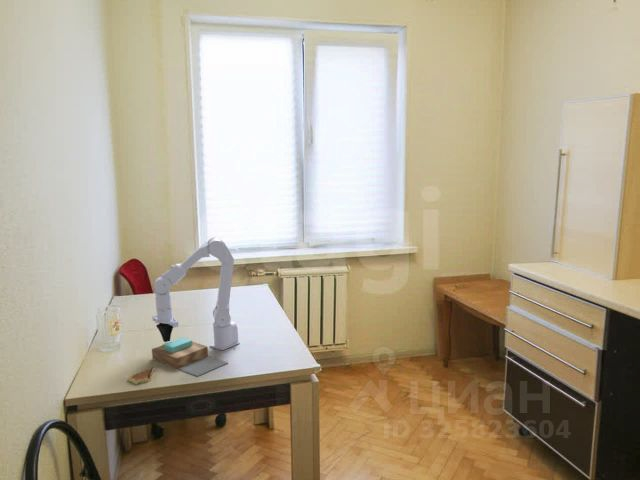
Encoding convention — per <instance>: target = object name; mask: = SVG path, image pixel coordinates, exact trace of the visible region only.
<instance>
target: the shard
mask: <svg viewBox="0 0 640 480" xmlns="http://www.w3.org/2000/svg"><path fill="white" fill-rule="evenodd" d="M153 369H154V366H152V367H149V368H147V369H144V370H142V371H140V372H136V373H134V374H131V375H130V376H128V377H127V378H126V380H127V381H128V382H131V383H132V384H135V385H138V384H141V383H146V382H150V381H151V377H152V375H153V373H154V370H153Z"/></svg>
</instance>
